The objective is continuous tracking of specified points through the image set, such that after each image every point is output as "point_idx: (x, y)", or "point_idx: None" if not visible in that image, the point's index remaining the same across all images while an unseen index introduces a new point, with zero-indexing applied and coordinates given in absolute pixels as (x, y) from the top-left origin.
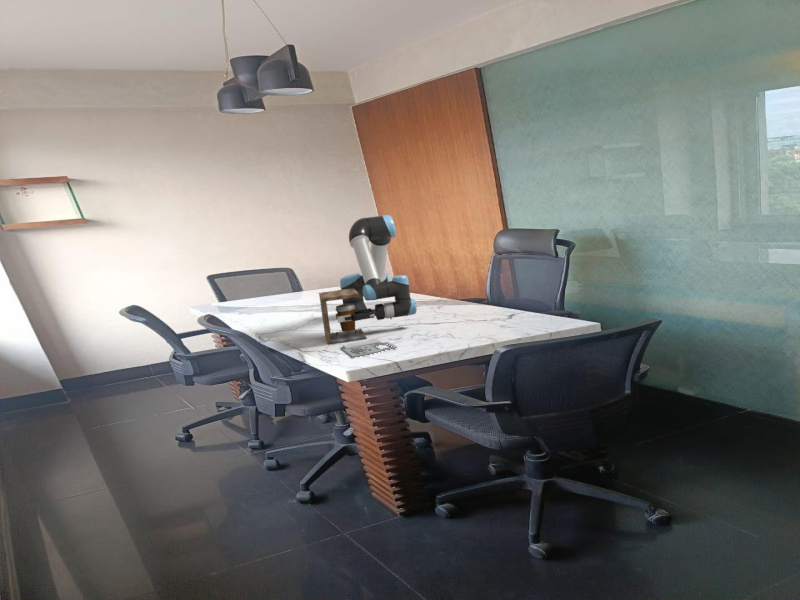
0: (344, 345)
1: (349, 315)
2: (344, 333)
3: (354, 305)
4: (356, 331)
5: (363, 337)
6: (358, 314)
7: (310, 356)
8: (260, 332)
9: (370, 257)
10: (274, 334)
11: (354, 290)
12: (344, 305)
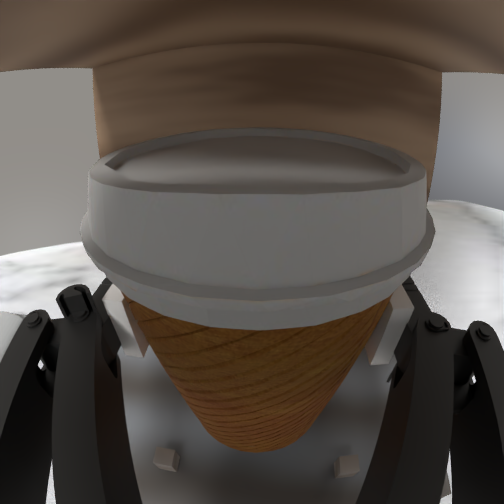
0: (3, 313)
1: (113, 289)
2: (344, 391)
3: (168, 232)
4: (336, 475)
5: None
6: (58, 394)
7: (57, 249)
8: (475, 206)
9: None
10: (455, 215)
11: None
12: (338, 157)
